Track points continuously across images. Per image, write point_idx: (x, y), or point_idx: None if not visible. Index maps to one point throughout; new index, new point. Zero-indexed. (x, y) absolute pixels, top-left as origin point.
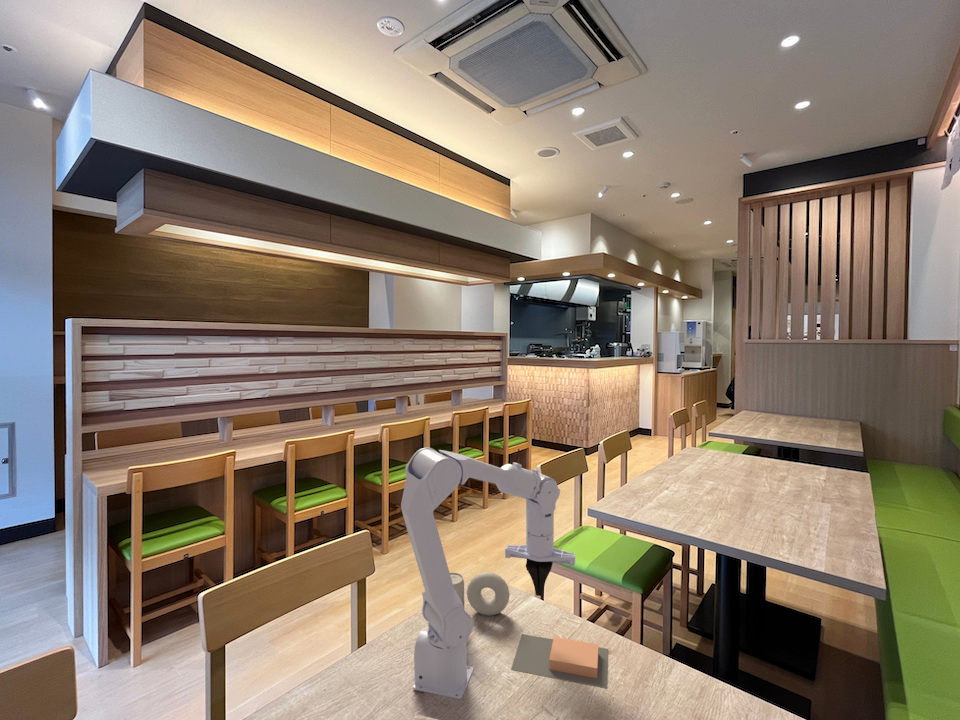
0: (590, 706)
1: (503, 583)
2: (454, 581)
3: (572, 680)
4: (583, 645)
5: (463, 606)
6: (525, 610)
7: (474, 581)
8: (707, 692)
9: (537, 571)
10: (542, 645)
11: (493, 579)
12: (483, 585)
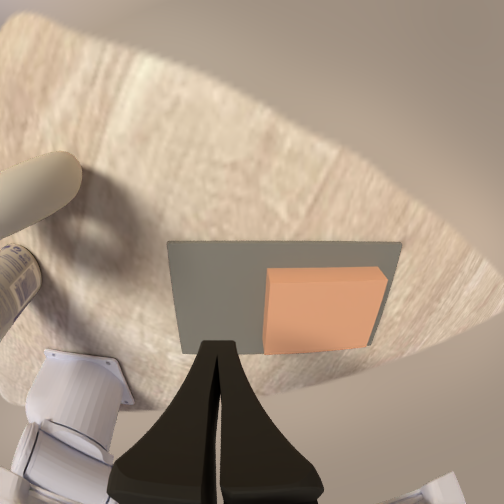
0: (334, 374)
1: (26, 212)
2: None
3: None
4: (351, 294)
5: (6, 310)
6: (147, 110)
7: None
8: (494, 293)
9: (216, 496)
10: (235, 274)
11: None
12: None
